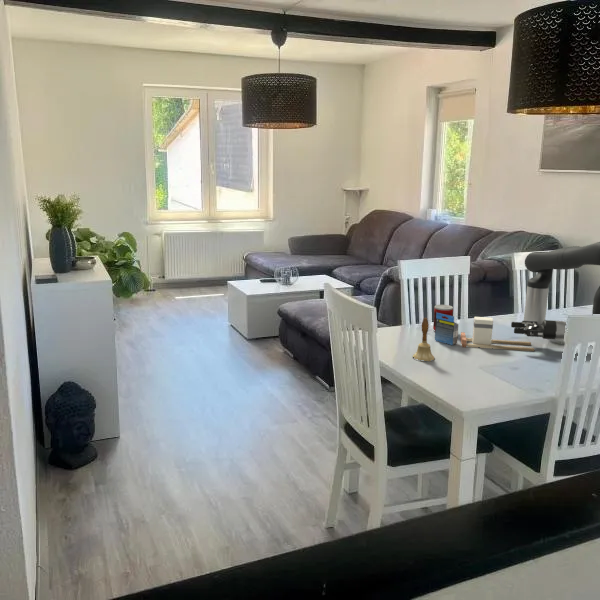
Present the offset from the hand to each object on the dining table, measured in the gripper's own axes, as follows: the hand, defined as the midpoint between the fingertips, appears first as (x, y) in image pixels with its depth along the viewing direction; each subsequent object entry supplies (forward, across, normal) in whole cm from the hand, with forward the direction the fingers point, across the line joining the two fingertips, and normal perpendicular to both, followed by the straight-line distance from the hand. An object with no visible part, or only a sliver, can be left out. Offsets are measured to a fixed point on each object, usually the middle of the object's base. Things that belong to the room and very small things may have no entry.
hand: (512, 327), depth 242 cm
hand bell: (+35, +22, +8) cm, 42 cm away
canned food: (+27, -16, +8) cm, 32 cm away
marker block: (+12, 0, +8) cm, 14 cm away
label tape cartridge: (+26, 0, +8) cm, 27 cm away
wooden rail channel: (+5, 0, +8) cm, 9 cm away
